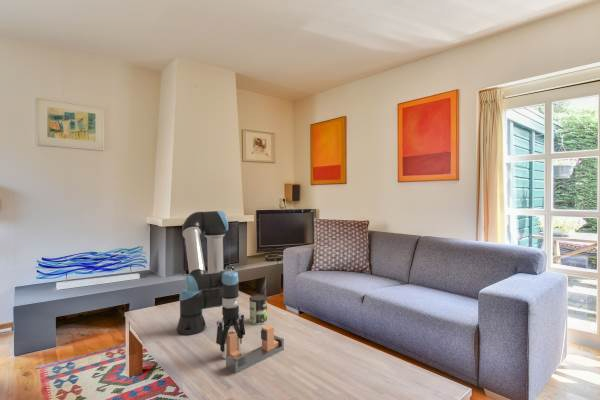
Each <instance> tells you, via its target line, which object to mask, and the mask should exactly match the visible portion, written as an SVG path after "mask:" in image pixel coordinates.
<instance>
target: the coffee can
mask: <svg viewBox="0 0 600 400" xmlns="http://www.w3.org/2000/svg"><path fill="white" fill-rule="evenodd" d="M248 299H249V323H250V324H252V325H255V326H256V325H259V326H260V325H263V324H266V323H267V322H268V296H266V295H264V294H254V295H251V296H249V297H248Z"/></svg>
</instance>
